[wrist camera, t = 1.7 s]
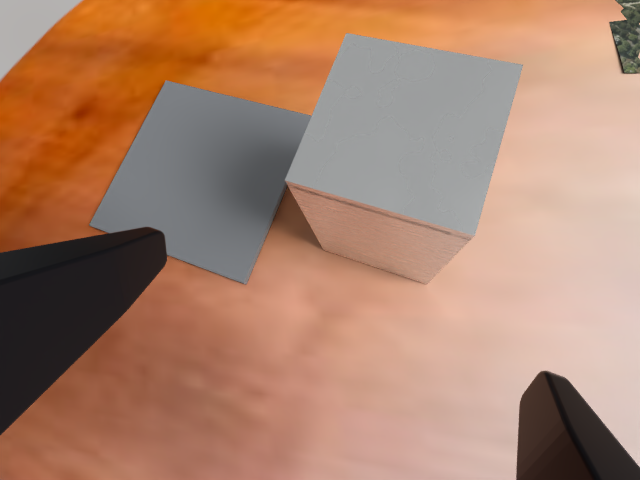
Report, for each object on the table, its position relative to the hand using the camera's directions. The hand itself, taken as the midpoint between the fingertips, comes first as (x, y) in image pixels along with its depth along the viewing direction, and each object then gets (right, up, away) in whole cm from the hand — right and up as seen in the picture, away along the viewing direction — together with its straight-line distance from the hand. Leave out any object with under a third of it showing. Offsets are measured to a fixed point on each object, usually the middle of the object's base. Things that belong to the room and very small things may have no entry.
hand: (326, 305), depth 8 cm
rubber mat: (-8, +6, +16) cm, 19 cm away
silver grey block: (+4, +3, +14) cm, 14 cm away
